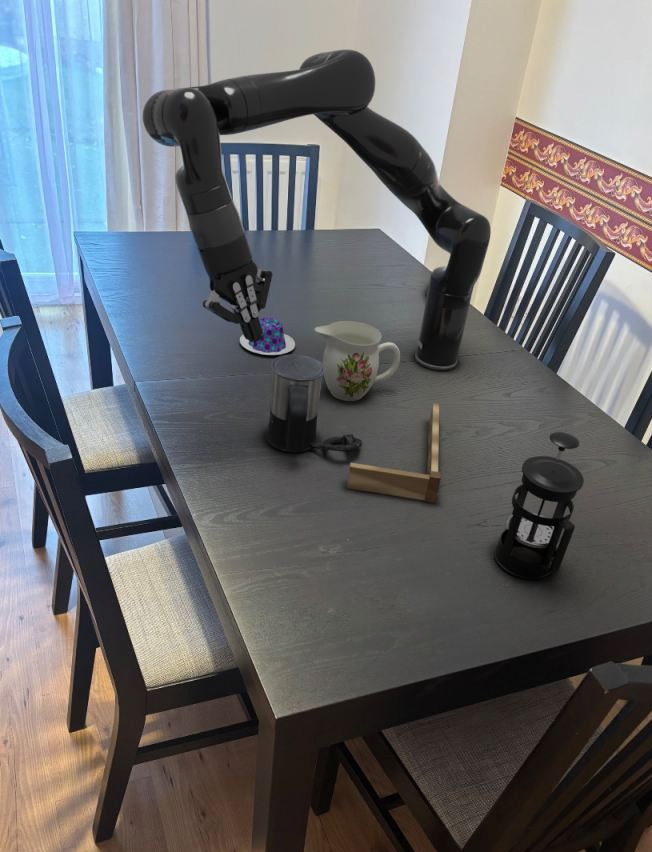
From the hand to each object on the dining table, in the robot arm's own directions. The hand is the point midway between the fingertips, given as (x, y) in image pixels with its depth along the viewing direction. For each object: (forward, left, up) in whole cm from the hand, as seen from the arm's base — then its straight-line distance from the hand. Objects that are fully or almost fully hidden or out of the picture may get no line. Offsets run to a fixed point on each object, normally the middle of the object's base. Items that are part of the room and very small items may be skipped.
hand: (255, 339), depth 127 cm
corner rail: (-4, +26, -20) cm, 33 cm away
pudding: (-39, -4, -20) cm, 44 cm away
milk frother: (-3, +11, -20) cm, 23 cm away
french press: (+21, +48, -20) cm, 56 cm away
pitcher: (-24, +16, -20) cm, 36 cm away
